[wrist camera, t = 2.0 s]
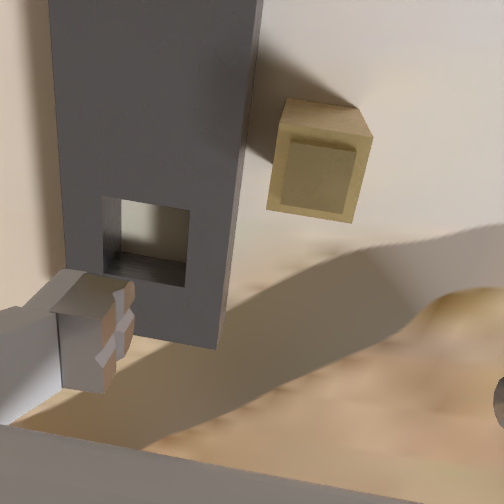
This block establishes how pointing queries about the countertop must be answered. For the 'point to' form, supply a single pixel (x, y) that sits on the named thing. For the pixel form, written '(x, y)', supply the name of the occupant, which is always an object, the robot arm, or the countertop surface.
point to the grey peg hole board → (155, 144)
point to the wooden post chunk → (319, 160)
